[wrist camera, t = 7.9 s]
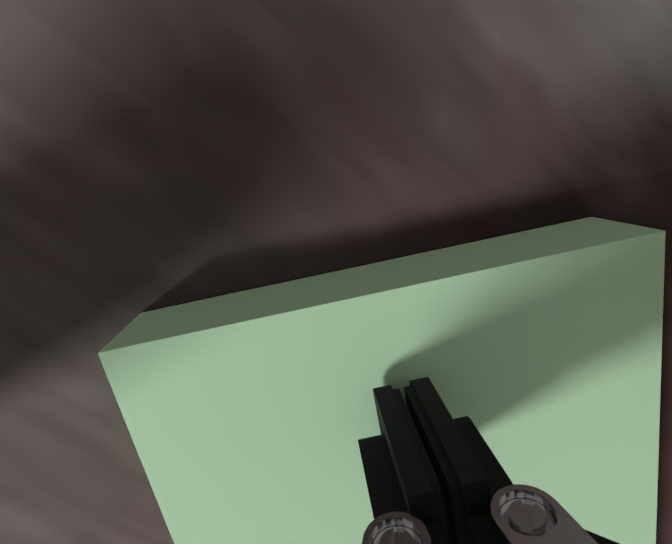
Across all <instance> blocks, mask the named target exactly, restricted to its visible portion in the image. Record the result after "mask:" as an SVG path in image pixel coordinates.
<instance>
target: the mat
mask: <svg viewBox="0 0 672 544" xmlns="http://www.w3.org/2000/svg"><path fill="white" fill-rule="evenodd" d="M665 233H666V231H664V230H659V229H654V228H648V227H643V226H638V225H633V224H627V223H622V222H617V221H611V220H606V219H601V218H596V217H588V218H583V219H578V220H574V221H569V222H564V223H560V224H555V225H550V226H545V227H541V228H536V229H531V230H527V231H522V232H517V233H513V234H508V235H503V236H499V237H494V238H489V239H485V240H480V241H475V242H470V243H466V244H461V245H456V246H452V247H447V248H442V249H438V250H433V251H428V252H424V253H419V254H414V255H410V256H405V257H400V258H395V259H391V260H386V261H381V262H377V263H372V264H367V265H363V266H358V267H353V268H349V269H344V270H339V271H335V272H330V273H325V274H320V275H316V276H311V277H306V278H302V279H297V280H292V281H288V282H283V283H278V284H274V285H269V286H264V287H260V288H255V289H250V290H245V291H241V292H236V293H231V294H227V295H222V296H217V297H213V298H208V299H203V300H199V301H194V302H189V303H185V304H180V305H175V306H170V307H166V308H161V309H156V310H152V311H147V312H142V313H140V314H139V315H138V316H137V317H136V318H135V319H134V320H132V321H131V322H130V323H129V324H128V325H127V326H126V327H125V328H124V329H123V330H122V331H121V332H120V333H119V334H117V335H116V336H115V337H114V338H113V339H112V340H111V341H110V342H109V343H108V344H107V345H106V346H105V347H103V348H102V349H101V350H100V351H99V352H98V355H99V358H100V360H101V363H102V365H103V368H104V370H105V373H106V375H107V377H108V380H109V382H110V385H111V387H112V390H113V392H114V395H115V397H116V400H117V402H118V405H119V407H120V410H121V412H122V415H123V417H124V420H125V422H126V425H127V427H128V430H129V432H130V435H131V437H132V440H133V442H134V445H135V447H136V450H137V452H138V454H139V457H140V459H141V462H142V464H143V467H144V469H145V472H146V474H147V477H148V479H149V482H150V484H151V487H152V489H153V492H154V494H155V497H156V499H157V502H158V504H159V507H160V509H161V512H162V514H163V517H164V519H165V522H166V524H167V527H168V529H169V532H170V534H171V536H172V539H173V541H174V544H362V540H363V534H364V532H365V530H366V528H367V527H368V525H369V524H370V523H371V522H372V521H373V520H374V517H373V512H372V507H371V502H370V498H369V493H368V488H367V483H366V478H365V473H364V468H363V463H362V458H361V453H360V448H359V444H358V440H359V439H363V438H368V437H372V436H377V435H381V432H380V427H379V421H378V416H377V411H376V405H375V400H374V394H373V388H377V387H382V386H387V385H391V387H392V389H397V388H399V389H400V392H401V394H402V396H403V399H404V401H405V403H406V399H405V393H404V387H406V386H410V380H415V379H419V378H424V377H429V379H430V380H431V382H432V384H433V386H434V387H435V389H436V391H437V392H438V394H439V396H440V398H441V399H442V401H443V403H444V404H445V406H446V408H447V409H448V411H449V413H450V415H451V416H452V418H453V419H455V418H459V417H464V416H468V417H469V418H470V419H471V420H472V422H473V423H474V425H475V426H476V428H477V429H478V431H479V432H480V434H481V436H482V437H483V439H484V440H485V442H486V443H487V445H488V446H489V448H490V449H491V451H492V452H493V454H494V455H495V457H496V458H497V460H498V462H499V463H500V465H501V466H502V468H503V469H504V471H505V472H506V474H507V475H508V477H509V478H510V480H511V481H512V483H513V484H522V485H529V486H533V487H536V488H539V489H541V490H543V491H545V492H546V493H548V494H549V495H550V496H552V497H553V498H554V499H555V500H556V501H557V502H558V503H559V504H560V505H561V506H562V507H563V508H564V509H565V510H566V511H567V512H568V513H569V514H570V515H571V516H572V517H573V518H574V519H575V520H576V521H577V522H578V523H579V524H580V525H581V527H582V528H583V529H585V530H588V531H590V532H593V533H595V534H597V535H600V536H602V537H605V538H607V539H610V540H612V541H615V542H617V543H620V544H656V522H657V490H658V457H659V425H660V393H661V361H662V329H663V297H664V265H665Z"/></svg>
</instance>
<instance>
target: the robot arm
mask: <svg viewBox="0 0 672 544" xmlns="http://www.w3.org/2000/svg"><path fill="white" fill-rule="evenodd" d="M404 393H405V399H406V403H405V401H404V399H403V396H402V394H401V392H400V389H399V388H397V389H392V387H391V385H387V386H382V387H377V388H373V394H374V400H375V405H376V411H377V416H378V421H379V427H380V432H381V435H377V436H372V437H368V438H363V439H359V440H358V444H359V448H360V453H361V458H362V463H363V468H364V473H365V478H366V483H367V488H368V493H369V498H370V502H371V507H372V512H373V517H374V520H373V521H372V522H371V523H370V524H369V525H368V527H367V528H366V530H365V532H364V534H363V540H362V544H620V543H617V542H615V541H612V540H610V539H607V538H605V537H602V536H600V535H597V534H595V533H593V532H590V531H588V530H585V529H583V528H582V527H581V525H580V524H579V523H578V522H577V521H576V520H575V519H574V518H573V517H572V516H571V515H570V514H569V513H568V512H567V511H566V510H565V509H564V508H563V507H562V506H561V505H560V504H559V503H558V502H557V501H556V500H555V499H554V498H553V497H552V496H550V495H549V494H548V493H546V492H545V491H543V490H541V489H539V488H536V487H533V486H529V485H522V484H513V483H512V481H511V480H510V478H509V477H508V475H507V474H506V472H505V471H504V469H503V468H502V466H501V465H500V463H499V462H498V460H497V458H496V457H495V455H494V454H493V452H492V451H491V449H490V448H489V446H488V445H487V443H486V442H485V440H484V439H483V437H482V436H481V434H480V432H479V431H478V429H477V428H476V426H475V425H474V423H473V422H472V420H471V419H470V418H469V417H468V416H464V417H459V418H455V419H453V418H452V416H451V415H450V413H449V411H448V409H447V408H446V406H445V404H444V403H443V401H442V399H441V398H440V396H439V394H438V392H437V391H436V389H435V387H434V386H433V384H432V382H431V380H430V379H429V377H424V378H419V379H415V380H410V386H406V387H404Z"/></svg>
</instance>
